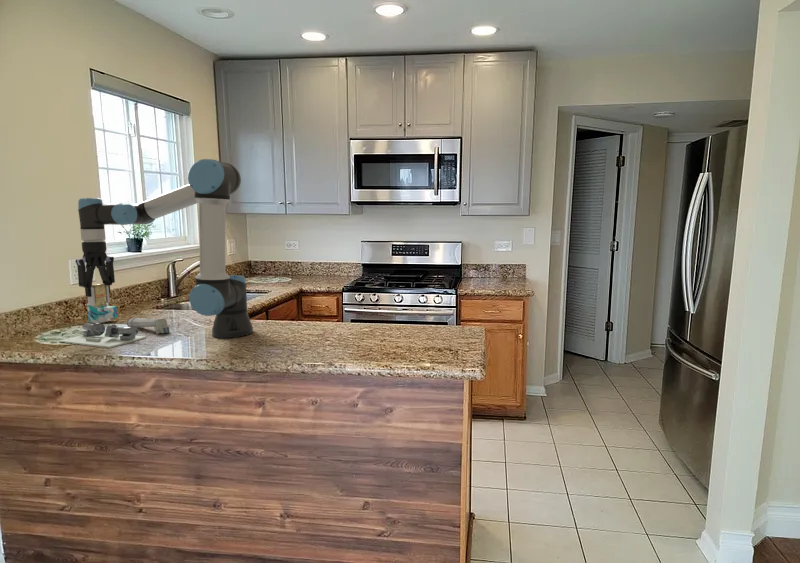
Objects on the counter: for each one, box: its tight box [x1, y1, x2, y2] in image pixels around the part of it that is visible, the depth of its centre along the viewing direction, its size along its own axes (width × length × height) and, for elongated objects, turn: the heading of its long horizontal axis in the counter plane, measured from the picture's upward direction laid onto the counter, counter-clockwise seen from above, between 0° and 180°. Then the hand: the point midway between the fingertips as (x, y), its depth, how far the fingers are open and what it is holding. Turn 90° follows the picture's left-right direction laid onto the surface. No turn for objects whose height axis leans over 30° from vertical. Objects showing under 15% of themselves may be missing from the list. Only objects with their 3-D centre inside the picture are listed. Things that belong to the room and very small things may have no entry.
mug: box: [86, 303, 118, 324], centre depth 217 cm, size 8×12×8 cm
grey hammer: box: [126, 317, 171, 335], centre depth 199 cm, size 5×7×25 cm
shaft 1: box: [82, 322, 106, 337], centre depth 188 cm, size 10×5×5 cm, turn 54°
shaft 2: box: [105, 323, 139, 341], centre depth 182 cm, size 10×5×5 cm, turn 84°
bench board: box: [58, 331, 147, 349], centre depth 183 cm, size 26×15×2 cm, turn 69°
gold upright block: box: [91, 283, 107, 307], centre depth 181 cm, size 5×5×8 cm
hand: (99, 303), depth 181 cm, fingers closed on gold upright block, 5 cm apart
